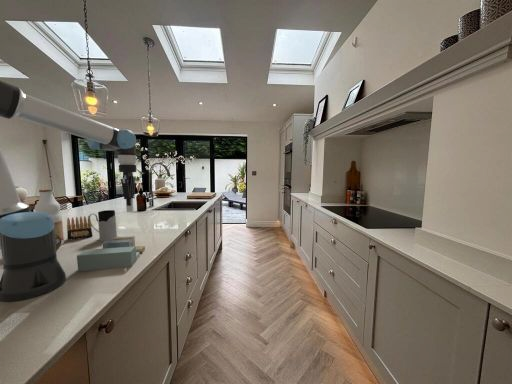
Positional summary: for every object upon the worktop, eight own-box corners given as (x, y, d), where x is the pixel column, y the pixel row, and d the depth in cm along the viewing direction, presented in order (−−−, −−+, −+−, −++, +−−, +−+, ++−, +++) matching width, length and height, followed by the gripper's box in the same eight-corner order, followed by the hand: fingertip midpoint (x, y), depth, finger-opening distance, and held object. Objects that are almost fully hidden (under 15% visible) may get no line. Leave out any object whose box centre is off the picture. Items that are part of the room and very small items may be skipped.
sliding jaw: (142, 253, 98) (141, 240, 97) (96, 256, 94) (95, 243, 94) (146, 247, 105) (146, 235, 104) (104, 250, 101) (103, 238, 100)
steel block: (129, 257, 93) (128, 241, 93) (103, 259, 91) (102, 243, 90) (133, 254, 97) (132, 238, 97) (107, 256, 95) (106, 240, 94)
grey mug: (110, 241, 115) (109, 213, 114) (84, 241, 115) (82, 213, 114) (121, 236, 124) (119, 209, 122) (96, 236, 124) (94, 209, 123)
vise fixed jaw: (131, 266, 84) (130, 251, 84) (78, 271, 81) (76, 255, 80) (139, 256, 94) (138, 243, 94) (92, 260, 90) (90, 246, 90)
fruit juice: (55, 248, 105) (49, 189, 102) (32, 249, 103) (26, 190, 100) (68, 242, 114) (63, 188, 111) (48, 243, 112) (42, 188, 110)
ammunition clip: (92, 236, 124) (91, 215, 123) (92, 236, 123) (90, 215, 122) (68, 239, 119) (66, 217, 117) (67, 240, 117) (65, 218, 116)
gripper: (131, 163, 102) (133, 213, 104) (140, 164, 114) (142, 209, 117) (113, 163, 100) (116, 214, 102) (124, 164, 113) (126, 209, 115)
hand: (130, 211), depth 110 cm, fingers closed
